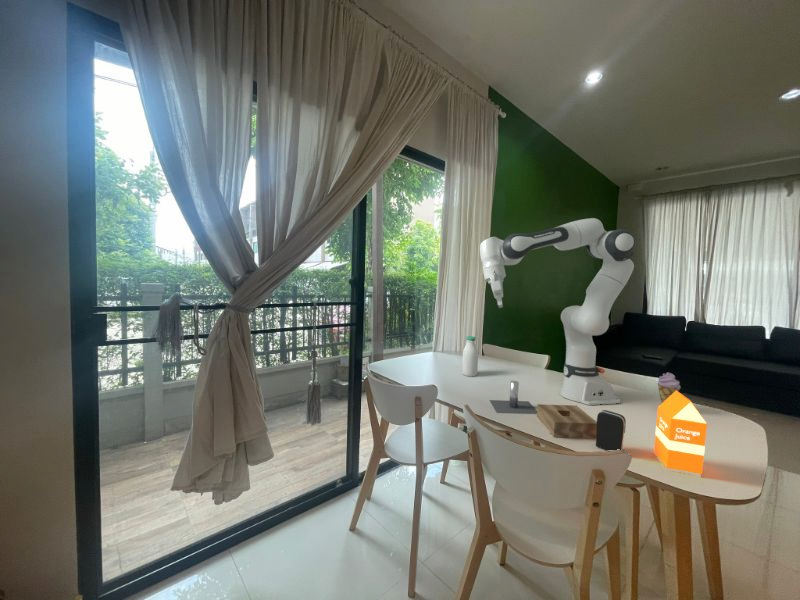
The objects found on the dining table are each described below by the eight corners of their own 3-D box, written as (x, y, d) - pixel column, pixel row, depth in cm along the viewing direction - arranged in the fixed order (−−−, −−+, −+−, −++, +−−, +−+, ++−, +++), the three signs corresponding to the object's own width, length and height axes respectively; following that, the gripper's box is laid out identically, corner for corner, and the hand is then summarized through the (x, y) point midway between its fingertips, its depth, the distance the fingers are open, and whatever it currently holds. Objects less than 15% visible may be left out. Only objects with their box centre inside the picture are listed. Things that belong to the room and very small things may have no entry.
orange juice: (665, 470, 86) (672, 398, 84) (653, 453, 94) (658, 387, 92) (702, 477, 83) (710, 403, 81) (686, 459, 91) (692, 391, 89)
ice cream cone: (674, 409, 125) (678, 372, 124) (680, 415, 120) (684, 376, 119) (653, 406, 128) (656, 369, 127) (658, 411, 123) (661, 374, 121)
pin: (516, 405, 126) (517, 380, 125) (518, 408, 123) (519, 383, 122) (508, 405, 126) (509, 380, 125) (510, 408, 123) (511, 383, 122)
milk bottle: (478, 377, 161) (480, 338, 159) (463, 376, 161) (464, 338, 159) (475, 372, 168) (476, 335, 167) (460, 372, 169) (462, 335, 167)
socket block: (575, 418, 116) (576, 405, 115) (597, 438, 102) (598, 423, 101) (536, 417, 116) (537, 404, 116) (553, 437, 102) (554, 422, 102)
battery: (624, 451, 94) (627, 414, 93) (621, 456, 92) (624, 418, 91) (598, 442, 100) (600, 407, 99) (594, 446, 97) (596, 410, 96)
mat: (528, 402, 130) (528, 401, 130) (540, 415, 118) (540, 414, 118) (489, 401, 131) (489, 400, 131) (496, 413, 119) (496, 412, 119)
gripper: (501, 267, 125) (508, 302, 122) (502, 277, 144) (508, 307, 141) (485, 271, 127) (491, 305, 124) (488, 280, 146) (493, 309, 143)
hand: (500, 306), depth 133 cm, fingers open, 8 cm apart
